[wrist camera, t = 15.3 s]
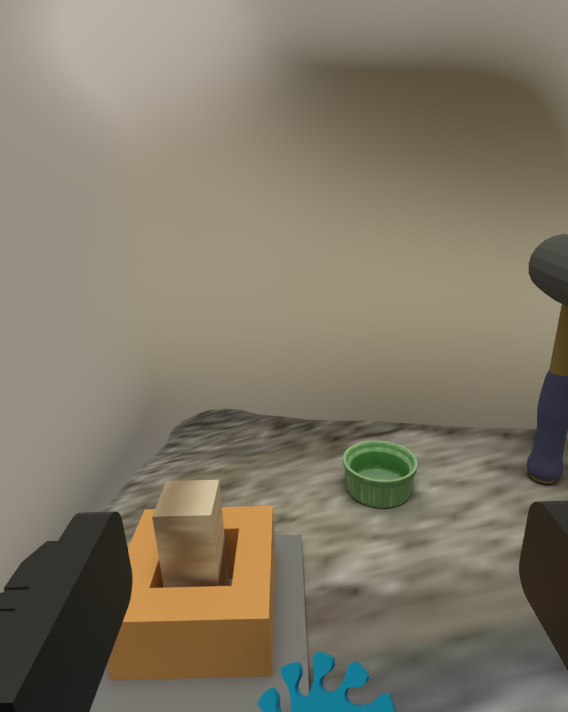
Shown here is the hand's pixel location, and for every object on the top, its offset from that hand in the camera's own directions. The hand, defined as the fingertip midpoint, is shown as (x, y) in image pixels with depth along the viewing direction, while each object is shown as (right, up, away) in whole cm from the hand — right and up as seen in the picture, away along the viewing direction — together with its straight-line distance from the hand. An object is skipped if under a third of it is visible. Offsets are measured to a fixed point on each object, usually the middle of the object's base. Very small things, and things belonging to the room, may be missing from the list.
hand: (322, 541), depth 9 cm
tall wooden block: (-8, -19, +33) cm, 39 cm away
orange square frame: (-8, -20, +33) cm, 39 cm away
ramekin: (+11, -13, +50) cm, 53 cm away
